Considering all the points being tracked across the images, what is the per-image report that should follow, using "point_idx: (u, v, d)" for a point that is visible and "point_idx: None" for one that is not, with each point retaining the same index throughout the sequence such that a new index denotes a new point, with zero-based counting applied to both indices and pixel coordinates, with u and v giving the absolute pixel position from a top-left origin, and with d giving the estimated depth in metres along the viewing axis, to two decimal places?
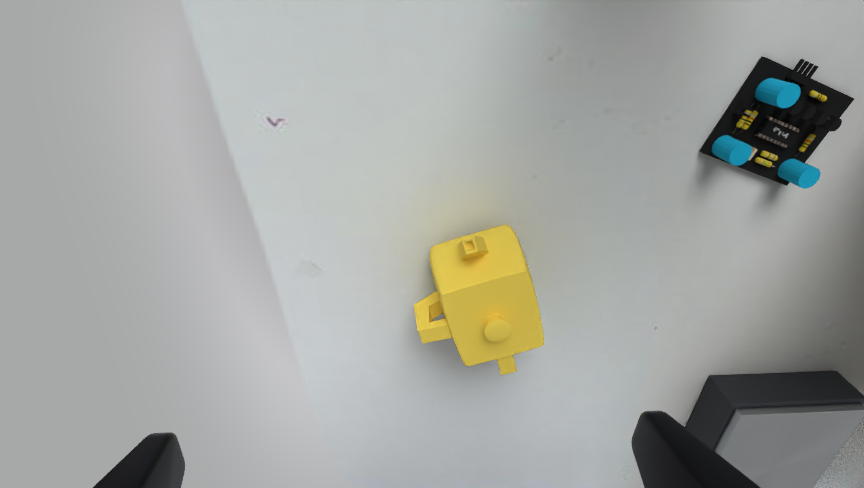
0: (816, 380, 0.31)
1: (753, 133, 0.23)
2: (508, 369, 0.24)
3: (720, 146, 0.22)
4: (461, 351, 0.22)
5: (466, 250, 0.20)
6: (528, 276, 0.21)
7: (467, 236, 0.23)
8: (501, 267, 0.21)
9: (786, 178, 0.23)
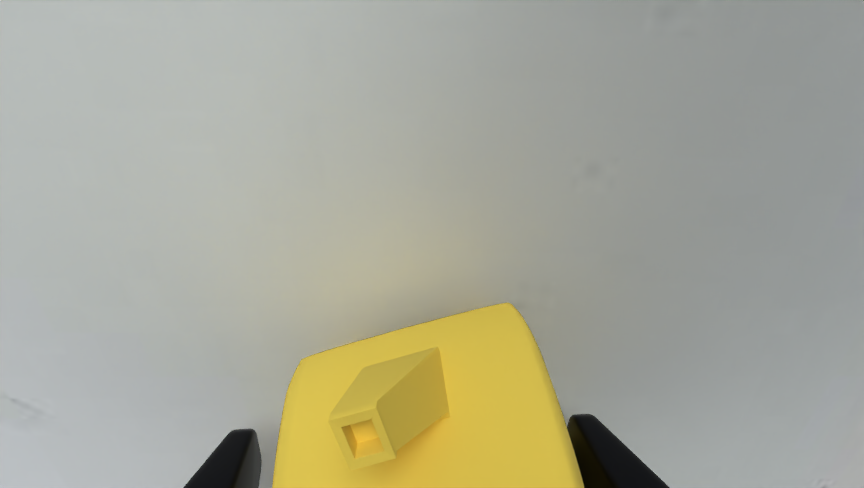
0: None
1: None
2: None
3: None
4: None
5: (350, 454, 0.05)
6: None
7: (397, 335, 0.08)
8: None
9: None
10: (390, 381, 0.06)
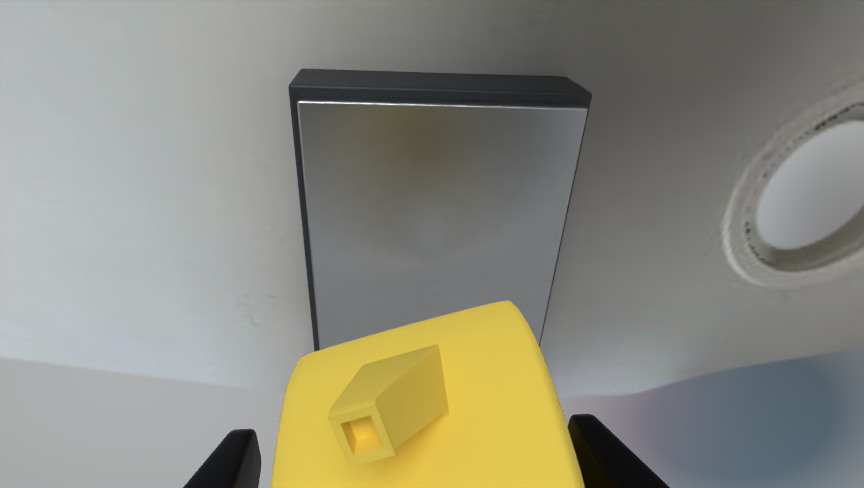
0: (511, 79, 0.16)
1: None
2: None
3: None
4: None
5: (349, 451, 0.05)
6: None
7: (397, 333, 0.08)
8: None
9: None
10: (389, 378, 0.06)
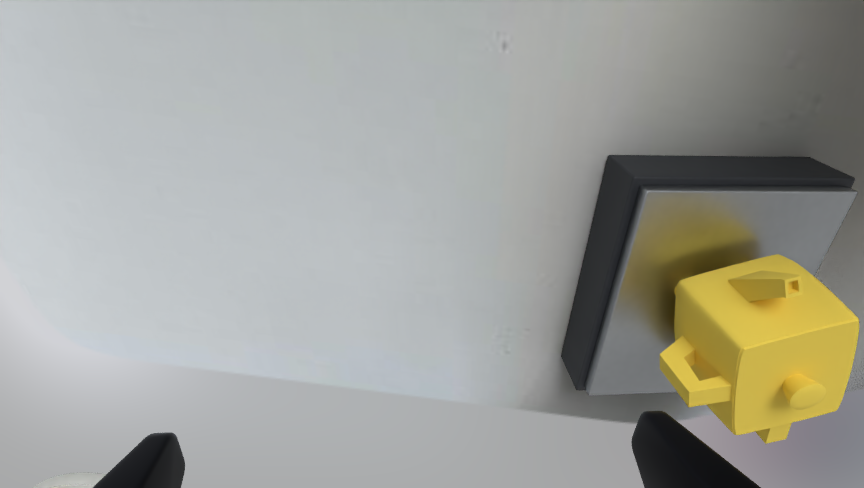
0: (776, 162, 0.20)
1: None
2: (777, 437, 0.19)
3: None
4: (737, 417, 0.17)
5: (786, 293, 0.15)
6: (857, 327, 0.16)
7: (730, 268, 0.18)
8: (818, 314, 0.16)
9: None
10: (780, 274, 0.16)
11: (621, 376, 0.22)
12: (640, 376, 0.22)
